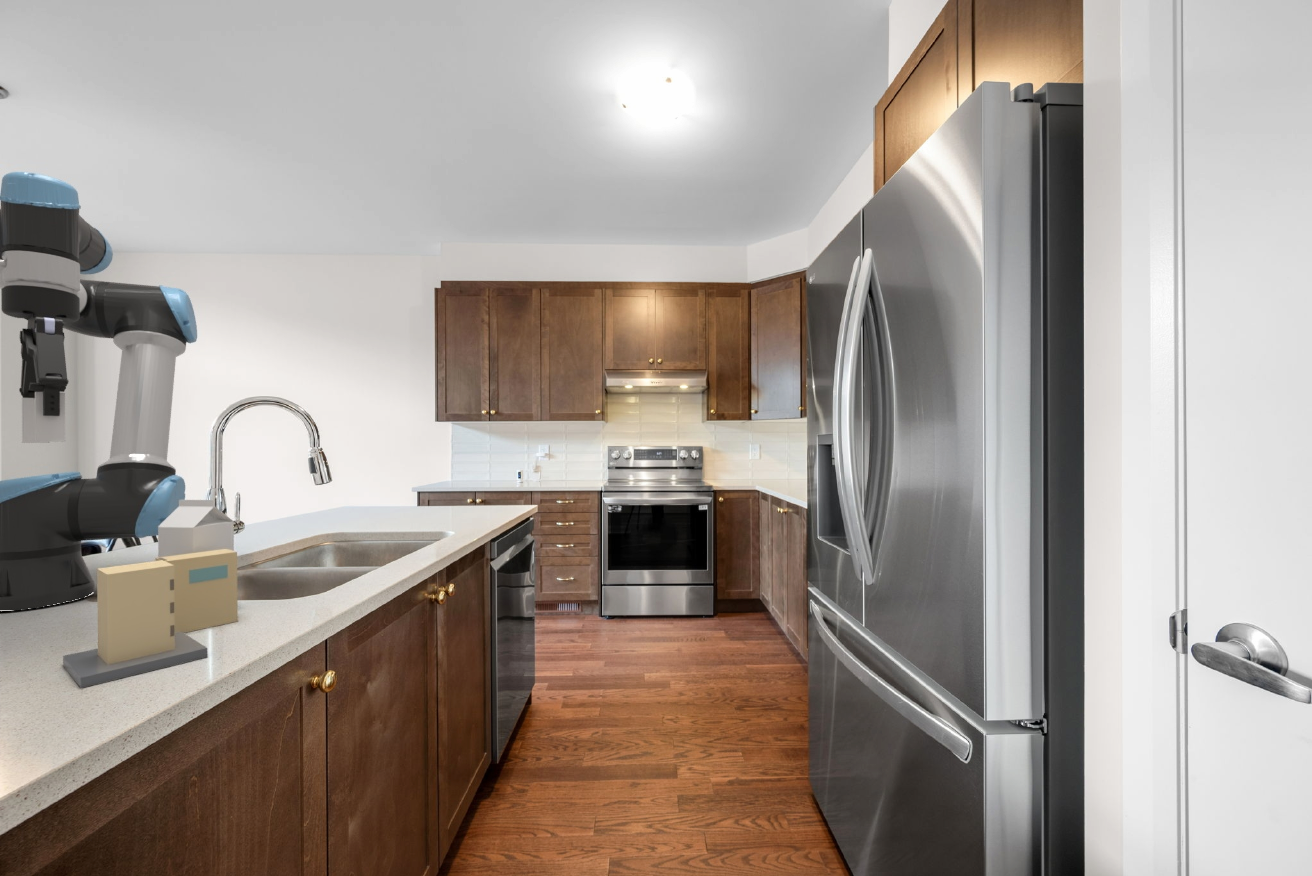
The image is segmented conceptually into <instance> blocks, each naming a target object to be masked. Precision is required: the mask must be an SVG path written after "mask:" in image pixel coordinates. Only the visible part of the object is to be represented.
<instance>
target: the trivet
mask: <svg viewBox="0 0 1312 876" xmlns="http://www.w3.org/2000/svg"><path fill="white" fill-rule="evenodd" d="M205 658H208V647H207V646H205V645H204V644H202V643H200V642H199V641H197V640H195V639H194V638H192V637H191V636H189V635H188V634H186V633H183V632H181V631H179V632H175V649H174V650H170V651H165V652H161V653H157V654H152V655H148V656H143V657H139V658H135V659H130V660H126V661H122V662H117V663H113V664H107V663H106V662H105V661H104V660H103V659H102V658H101V657H100V656H99V655H98V648H95V649H90V650H89V649H88V650H84V651H79V652H75V653H70V654H66V655H63V656H62V666H63V667H64V669H65V670H66V671H67V673H68V674H69V675H70V676H71V678H72V679H73V680H74V682H75V683H76V684H77V686H79V688H80V689H84V688H87V687H92V686H95V685H99V684H103V683H106V682H107V683H108V682H112V681H115V680H119V679H124V678H128V677H129V678H130V677H132V676H137V675H140V674H144V673H148V672H149V673H150V672H152V671H156V670H160V669H165V668H168V667H169V668H170V667H173V666H178V665H181V664H185V663H189V662H194V661H198V660H202V659H205Z"/></svg>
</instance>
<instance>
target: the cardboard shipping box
mask: <svg viewBox="0 0 1312 876" xmlns="http://www.w3.org/2000/svg"><path fill="white" fill-rule="evenodd" d="M160 560H163V561H165V562H168V563H170V564H172V565H174V596H175V632H179V631H181V632H183V633H184V634H186V633H190V632H195V631H198V630H203V629H208V628H213V627H216V626H217V627H218V626H223V625H227V624H232V623H236V622H237V623H238V621H239V620H238V615H239V613H238V610H239V609H238V552H237V551H235V550H234V551H232V550H229V549H221V550H213V551H205V552H197V553H190V554H182V555H174V556H166V557H155V561H160Z"/></svg>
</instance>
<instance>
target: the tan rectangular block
mask: <svg viewBox="0 0 1312 876" xmlns="http://www.w3.org/2000/svg"><path fill="white" fill-rule="evenodd" d="M96 570H97V571H96V575H97V578H96V579H97V580H96V583H97V584H96V585H97V587H96V589H97V590H96V591H97V600H96V601H97V605H96V606H97V649H98V655H99V656H100V657H101V658H102V659H103V660H104V661H105V662H106V663H107V664H113V663H117V662H122V661H126V660H130V659H135V658H139V657H143V656H148V655H152V654H157V653H161V652H165V651H170V650H174V649H175V596H174V565H172V564H170V563H168V562H165V561H163V560H160V561H156V560H154V561H152V560H151V561H146V562H145V561H144V562H138V563H131V564H123V565H114V566H108V567H98V568H97V569H96Z"/></svg>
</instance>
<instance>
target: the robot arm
mask: <svg viewBox="0 0 1312 876" xmlns="http://www.w3.org/2000/svg"><path fill="white" fill-rule="evenodd" d="M80 209H81V205H80V200H79V193H78V191H77V189H76V188H75V187H74V186H72V185H71V184H70V183H68V182H66V181H63V180H60V179H58V178H55V177H52V176H49V175H45V174H41V173H34V172H28V171H13V172H8V173H6V174H4V175H3V176H2V177H1V185H0V290H1V292H0V293H1V312H2V313H3V314H5V315H6V316H9V317H11V318H17V319H24V320H26V321H27V327H26V328H22V330H20V331H19V341H20V344H21V345H20V356H21V357H20V358H21V371H20V372H21V377H20V388H19V393H20V396H22V398H21V443H22V444H25V443H26V444H30V443H31V444H34V443H35V444H36V443H37V444H38V443H40V444H47V443H50V442H54V443H56V442H57V443H58V442H61V443H63V442H66V392H65V390H66V389H67V386H68V384H69V379H68V374H67V373H68V372H67V362H66V354H65V351H66V350H65V332H64V329H65V330H69V331H71V332H73V333H77V334H81V335H84V336H89V337H93V338H94V337H95V338H101V339H102V338H103V339H112V340H113V344H114V345H115V346H116V347H117V348H119V350H121V357H120V358H121V359H120V366H119V374H118V383H117V391H116V398H115V399H116V401H115V409H114V418H113V426H112V427H113V428H112V433H111V434H112V435H111V443H110V451H109V459H108V460H106V461H105V462H103V463H100V465H98V467H97V469H96V470H97V471H96V477H95V478H83V475H82V474H81V472H80V471H69V472H68V471H67V472H59V473H50V474H41V475H35V476H34V475H32V476H27V477H26V476H24V477H17V478H10V479H4V480H0V610H21V609H28V608H36V609H38V608H37V607H43V606H47V605H53V604H57V603H63V602H66V601H72V600H75V599H79V598H84V597H85V596H88V595H89V594H91V593H92V592H94V593H95V581H94V579H93V577H92V575H91V573H90V570H89V569H88V566H87V563H86V562H85V560H84V558H83V556H82V555H83V554H82V542H83V541H99V540H102V541H103V540H114V539H115V540H116V539H130V538H132V539H133V538H138V539H144V538H146V537H153V536H154V537H155V536H158V526H159V525H160V524H161V523H162V522H163V521H164V520H165V519H166V518H167V517H168V516H169V515H170V514H171V513H172V512H174V511H175V510H176V509H177V508H178V507H179V500H186V493H185V492H186V482H185V479H184V478H183V477H182V476H180V475H178V474H176V473H177V472H176V470H177V469H176V467H174V466H173V465H172V464H170V462H168V452H169V443H170V442H169V441H170V440H169V439H170V427H171V418H172V417H171V416H172V406H173V392H174V386H175V384H174V383H175V374H176V373H175V372H176V363H177V362H176V361H177V357H179V356H181V355H183V354H185V353H186V349H187V343H188V344H193V343H196V342H197V339H198V329H197V322H196V321H197V320H196V315H195V310H194V308H193V307H194V306H193V304H192V301H191V298H190V296H189V294H188V293H187V292H186V291H184V290H183V289H181V288H177V287H170V286H169V287H168V286H164V285H158V286H157V285H147V284H135V283H124V282H123V283H122V282H113V281H102V280H91V279H82V278H81V275H94V274H98V273H101V272H102V271H103V272H104V270H107V268H108V267H109V266H110V265H111V263H112V261H113V257H114V254H113V249H112V246H111V243H109V241H108V240H107V238H106V237H105V236H104V235H103V233H101V231H100V230H99V229H97V228H96V227H93V226H92V225H91V224H90V223H89V222H88V221H86V220H85V219H84V218H83V217H82V216H81V215H80ZM84 599H85V598H84ZM43 608H44V607H43ZM21 611H22V610H21Z"/></svg>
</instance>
